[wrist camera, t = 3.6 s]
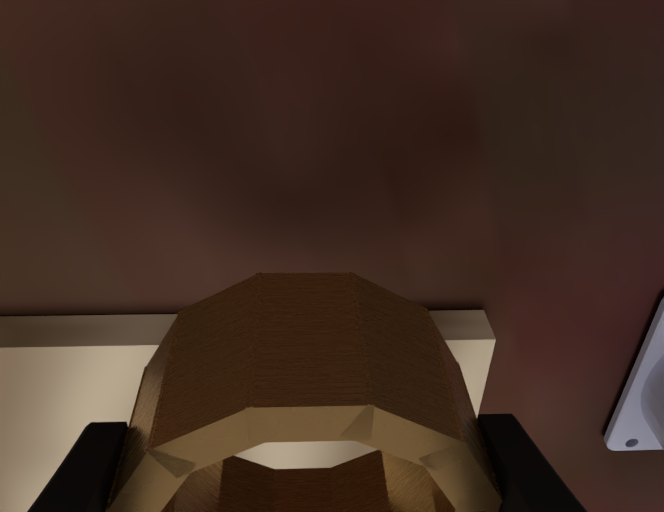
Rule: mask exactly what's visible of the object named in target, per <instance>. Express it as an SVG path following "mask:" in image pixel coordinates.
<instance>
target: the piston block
mask: <svg viewBox="0 0 664 512" xmlns="http://www.w3.org/2000/svg"><path fill="white" fill-rule="evenodd" d="M429 314H430V316H431V318H432V319H433V321H434V323H435V324H436V326H437V328H438V330H439V331H440V333H441V335H442V337H443V338H444V340H445V342H446V343H447V345H448V347H449V349H450V350H451V352H452V354H453V356H454V357H455V359H456V361H457V362H459V365H460V368H461V371H462V374H463V377H464V380H465V383H466V387H467V390H468V393H469V396H470V399H471V402H472V405H473V408H474V412H475V415H476V418H477V416H478V412H479V408H480V404H481V400H482V395H483V391H484V387H485V383H486V379H487V375H488V370H489V366H490V362H491V358H492V354H493V349H494V345H495V341H496V339H495V336H494V334H493V331H492V329H491V326H490V324H489V321H488V319H487V317H486V314H485V312H484V310H442V311H429ZM177 316H178V314H147V315H74V316H0V512H27V511H28V510H29V508H30V507H31V506H32V504H33V503H34V502H35V500H36V499H37V497H38V496H39V495H40V493H41V492H42V490H43V489H44V488H45V486H46V485H47V483H48V482H49V480H50V479H51V478H52V476H53V475H54V473H55V472H56V470H57V469H58V467H59V466H60V465H61V463H62V462H63V460H64V459H65V457H66V456H67V454H68V453H69V451H70V450H71V448H72V447H73V445H74V444H75V442H76V441H77V439H78V438H79V436H80V434H81V433H82V431H83V430H84V428H85V427H86V426H87V425H88V424H89V423H91V422H127V424H128V426H129V422H130V419H131V415H132V411H133V408H134V404H135V400H136V397H137V393H138V389H139V386H140V382H141V378H142V375H143V371H144V367H145V366H147V364H148V363H149V361H150V359H151V358H152V356H153V355H154V353H155V351H156V350H157V348H158V347H159V345H160V343H161V342H162V340H163V338H164V337H165V335H166V334H167V332H168V330H169V329H170V327H171V325H172V324H173V322H174V321H175V319H176V317H177ZM375 450H378V449H375V448H373V447H370V446H367V445H365V444H362V443H359V442H357V441H315V442H271V443H263V444H260V445H258V446H255V447H253V448H250V449H248V450H245V451H243V452H241V453H238V454H236V455H234V456H237V457H240V458H243V459H246V460H249V461H252V462H255V463H258V464H261V465H264V466H267V467H270V468H273V469H299V468H331V467H334V466H336V465H339V464H342V463H344V462H347V461H349V460H352V459H355V458H357V457H360V456H362V455H365V454H368V453H370V452H373V451H375Z"/></svg>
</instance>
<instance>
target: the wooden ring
mask: <svg viewBox="0 0 664 512" xmlns="http://www.w3.org/2000/svg"><path fill="white" fill-rule="evenodd" d="M315 441H357V442H359V443H362V444H365V445H367V446H370V447H373V448H375V449H378V450H375V451H373V452H370V453H368V454H365V455H362V456H360V457H357V458H355V459H352V460H349V461H347V462H344V463H342V464H339V465H336V466H334V467H331V468H299V469H273V468H270V467H267V466H264V465H261V464H258V463H255V462H252V461H249V460H246V459H243V458H240V457H237V456H234V455H236V454H238V453H241V452H243V451H245V450H248V449H250V448H253V447H255V446H258V445H260V444H263V443H271V442H315ZM502 502H503V501H502V496H501V493H500V489H499V486H498V483H497V480H496V477H495V474H494V471H493V468H492V465H491V462H490V459H489V456H488V452H487V449H486V446H485V443H484V440H483V437H482V434H481V431H480V427H479V424H478V421H477V418H476V415H475V412H474V408H473V405H472V402H471V399H470V396H469V393H468V390H467V387H466V383H465V380H464V377H463V374H462V371H461V368H460V365H459V362H457V361H456V359H455V357H454V356H453V354H452V352H451V350H450V349H449V347H448V345H447V343H446V342H445V340H444V338H443V337H442V335H441V333H440V331H439V330H438V328H437V326H436V324H435V323H434V321H433V319H432V318H431V316H430V314H429V310H428V309H426V307H422V306H420V305H418V304H416V303H414V302H412V301H410V300H408V299H405V298H403V297H401V296H399V295H397V294H395V293H393V292H391V291H389V290H387V289H385V288H383V287H381V286H378V285H376V284H374V283H372V282H370V281H368V280H366V279H364V278H362V277H360V276H358V275H356V274H355V273H351V272H349V273H261V272H260V273H256V275H254V276H252V277H250V278H248V279H246V280H244V281H241V282H239V283H237V284H235V285H233V286H231V287H229V288H227V289H225V290H223V291H221V292H218V293H216V294H214V295H212V296H210V297H208V298H206V299H204V300H202V301H200V302H198V303H195V304H193V305H191V306H189V307H187V308H185V309H181V311H179V312H178V316H177V317H176V319H175V321H174V322H173V324H172V325H171V327H170V329H169V330H168V332H167V334H166V335H165V337H164V338H163V340H162V342H161V343H160V345H159V347H158V348H157V350H156V351H155V353H154V355H153V356H152V358H151V359H150V361H149V363H148V364H147V366H145V367H144V371H143V375H142V378H141V382H140V386H139V389H138V393H137V397H136V400H135V404H134V408H133V411H132V415H131V419H130V422H129V426H128V430H127V433H126V437H125V441H124V444H123V448H122V452H121V455H120V459H119V463H118V466H117V470H116V474H115V477H114V481H113V485H112V488H111V492H110V496H109V499H108V503H107V507H106V510H105V511H106V512H499V508H500V505H501V503H502Z"/></svg>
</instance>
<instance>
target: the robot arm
mask: <svg viewBox="0 0 664 512" xmlns="http://www.w3.org/2000/svg"><path fill="white" fill-rule="evenodd" d="M477 421H478V424H479V427H480V431H481V434H482V437H483V440H484V443H485V446H486V449H487V452H488V456H489V459H490V462H491V465H492V468H493V471H494V474H495V477H496V480H497V483H498V486H499V489H500V493H501V496H502V501H503V502H502V503H501V505H500V508H499V512H587V511H586V509H585V508H584V507H583V506H582V505H581V503H580V502H579V501H578V500H577V498H576V497H575V496H574V495H573V493H572V492H571V491H570V490H569V488H568V487H567V486H566V485H565V483H564V482H563V481H562V479H561V478H560V477H559V475H558V474H557V473H556V471H555V470H554V469H553V468H552V466H551V465H550V464H549V462H548V461H547V460H546V458H545V457H544V456H543V454H542V453H541V452H540V450H539V449H538V448H537V446H536V445H535V444H534V442H533V441H532V439H531V438H530V437H529V435H528V434H527V433H526V431H525V430H524V428H523V427H522V426H521V424H520V423H519V422H518V420H517V419H516V418H515V417H514V416H513V415H512V414H478V417H477ZM127 430H128V424H127V422H91V423H89V424H88V425H87V426H86V427H85V428H84V430H83V431H82V433H81V434H80V436H79V438H78V439H77V441H76V442H75V444H74V445H73V447H72V448H71V450H70V451H69V453H68V454H67V456H66V457H65V459H64V460H63V462H62V463H61V465H60V466H59V467H58V469H57V470H56V472H55V473H54V475H53V476H52V478H51V479H50V480H49V482H48V483H47V485H46V486H45V488H44V489H43V490H42V492H41V493H40V495H39V496H38V497H37V499H36V500H35V502H34V503H33V504H32V506H31V507H30V508H29V510H28V511H27V512H106V511H105V510H106V507H107V503H108V499H109V496H110V492H111V488H112V485H113V481H114V477H115V474H116V470H117V466H118V463H119V459H120V455H121V452H122V448H123V444H124V441H125V437H126V433H127ZM604 442H605V443H606V445H607V447H608V448H609V449H610V450H615V451H622V450H657V449H663V450H664V297H663V299H662V300H661V302H660V305H659V307H658V309H657V312H656V314H655V316H654V319H653V321H652V324H651V326H650V328H649V331H648V333H647V335H646V338H645V340H644V343H643V345H642V347H641V350H640V352H639V355H638V357H637V359H636V362H635V364H634V366H633V369H632V371H631V374H630V376H629V378H628V381H627V383H626V385H625V388H624V390H623V393H622V395H621V397H620V400H619V402H618V405H617V407H616V409H615V412H614V414H613V416H612V419H611V421H610V424H609V426H608V428H607V431H606V433H605V435H604Z"/></svg>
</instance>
